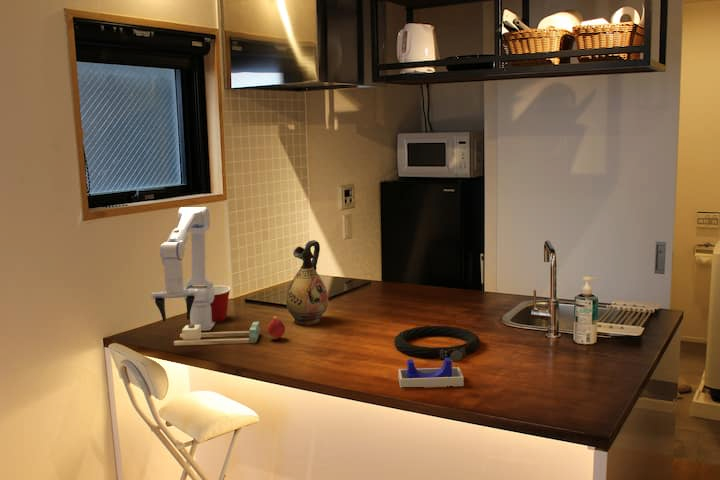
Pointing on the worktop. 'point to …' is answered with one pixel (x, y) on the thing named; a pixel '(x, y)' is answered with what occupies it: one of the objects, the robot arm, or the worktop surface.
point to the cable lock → (437, 352)
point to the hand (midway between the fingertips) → (176, 319)
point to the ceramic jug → (307, 288)
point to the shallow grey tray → (446, 381)
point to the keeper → (191, 332)
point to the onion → (276, 328)
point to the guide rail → (252, 333)
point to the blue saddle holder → (442, 372)
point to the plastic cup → (220, 303)
